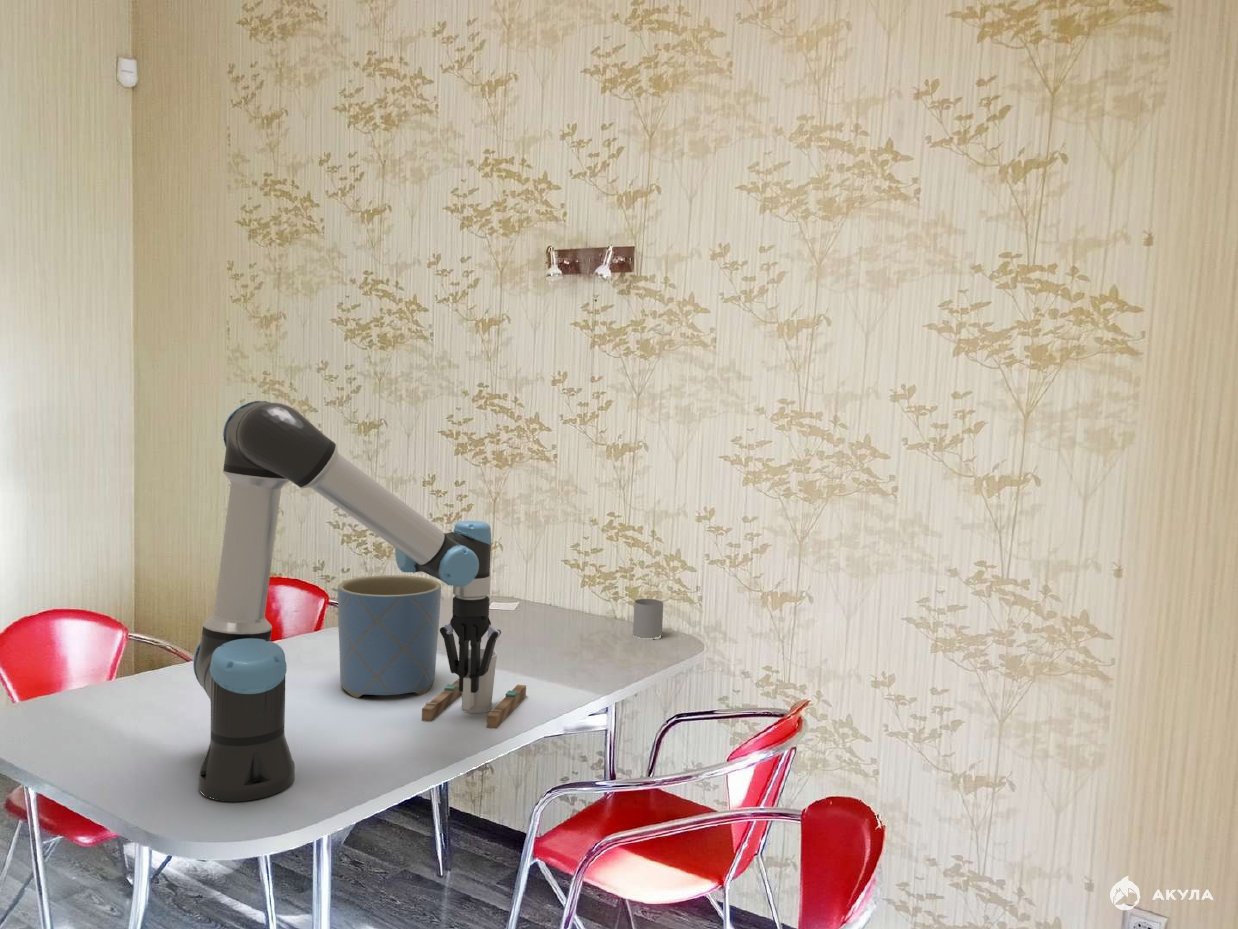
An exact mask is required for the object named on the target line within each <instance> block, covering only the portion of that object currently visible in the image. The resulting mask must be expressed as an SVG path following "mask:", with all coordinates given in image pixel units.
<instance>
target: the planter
mask: <svg viewBox="0 0 1238 929" xmlns="http://www.w3.org/2000/svg"><path fill="white" fill-rule="evenodd" d="M441 595H442V584H441V583H440V582H439V581H437V580H435V579H432V578H427V577H422V576H416V575H415V576H413V575H399V574H398V575H396V574H388V575H384V574H383V575H373V576H372V575H371V576H361V577H356V578H352V579H348V580H344V581H342V582H340V583H339V584H338V586H337V616H338V617H337V618H338V619H337V621H338V623H337V624H338V642H339V643H338V646H339V648H338V649H339V678H340V679H339V680H340V684H341V687H342V689H343V690H345V692H347V693H348V695H350V696H352V697H354V698H357V699H359V698H361V696H364V695H371V696H372V695H374V696H395V695H402V694H403V695H404V694H409V693H415V694H417V695H418V696H421V695H424V694H425V693H426V692H427V691H428V690H429V689H430V688H431V686H432V685H433V684H434V682H435V678H436V664H437V652H438V642H439V640H438V639H439V630H440V628H439V627H440V614H441V597H442V596H441Z"/></svg>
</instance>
